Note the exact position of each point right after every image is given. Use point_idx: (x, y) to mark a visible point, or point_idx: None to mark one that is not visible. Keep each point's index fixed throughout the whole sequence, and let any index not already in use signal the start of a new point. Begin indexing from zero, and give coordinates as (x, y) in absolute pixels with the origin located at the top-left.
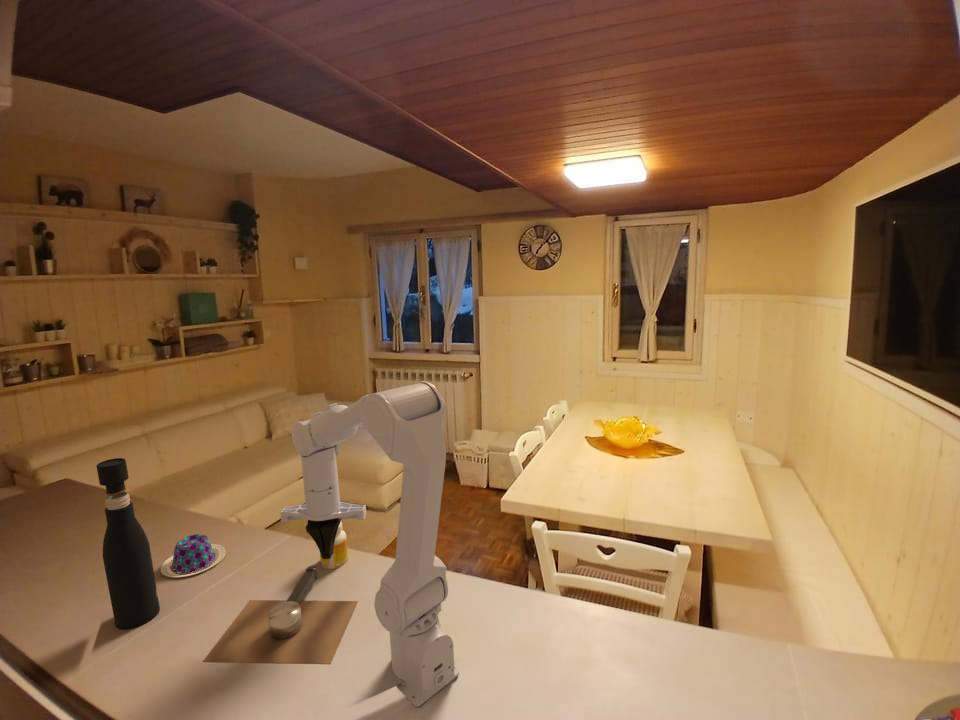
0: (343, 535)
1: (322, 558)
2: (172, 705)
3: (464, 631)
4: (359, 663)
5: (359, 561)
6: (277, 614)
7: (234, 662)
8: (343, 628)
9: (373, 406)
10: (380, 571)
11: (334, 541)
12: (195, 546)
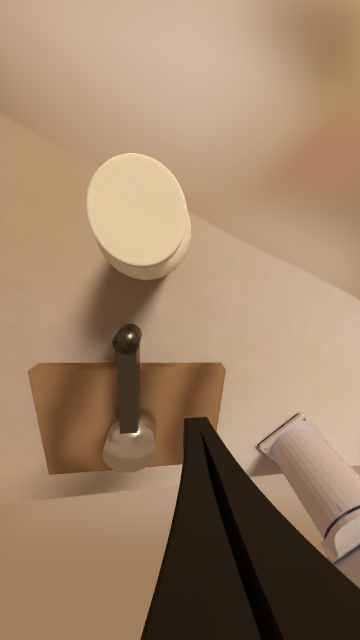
0: (186, 237)
1: (183, 445)
2: (57, 493)
3: (347, 394)
4: (235, 438)
5: (198, 227)
6: (120, 459)
7: (93, 470)
8: (215, 418)
9: None
10: (245, 268)
11: (225, 447)
12: None
